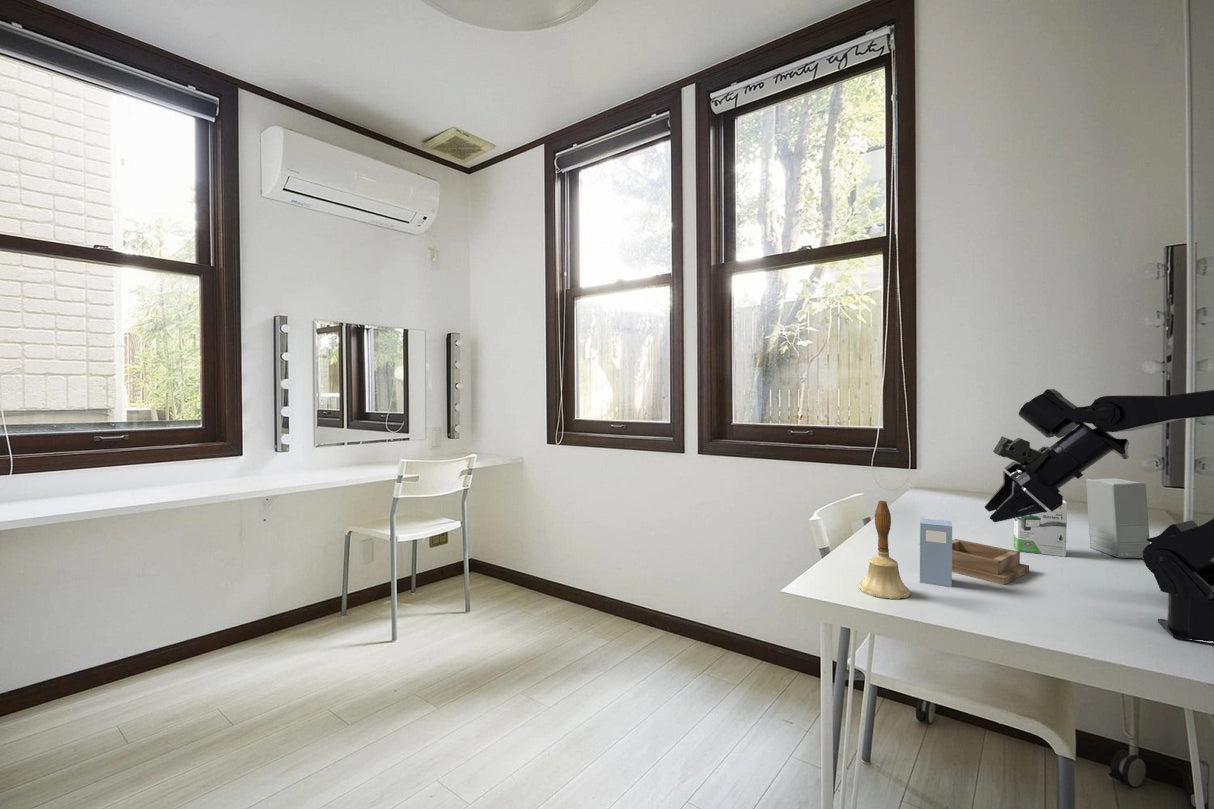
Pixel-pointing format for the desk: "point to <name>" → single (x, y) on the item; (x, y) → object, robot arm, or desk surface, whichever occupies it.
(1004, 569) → the tray
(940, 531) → the box
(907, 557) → the desk surface
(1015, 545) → the ink box
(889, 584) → the hand bell
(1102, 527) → the skincare box
